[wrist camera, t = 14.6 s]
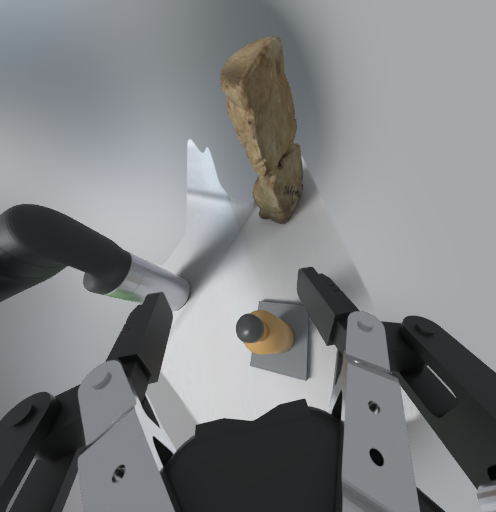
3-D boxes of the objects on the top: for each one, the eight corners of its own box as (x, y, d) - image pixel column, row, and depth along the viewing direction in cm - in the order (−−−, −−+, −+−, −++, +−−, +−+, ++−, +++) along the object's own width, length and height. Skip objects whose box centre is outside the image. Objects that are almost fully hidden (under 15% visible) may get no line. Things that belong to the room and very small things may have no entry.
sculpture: (279, 187, 52) (231, 42, 27) (310, 191, 46) (284, 16, 22) (259, 221, 49) (186, 93, 25) (289, 229, 44) (234, 78, 20)
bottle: (263, 349, 33) (222, 348, 21) (267, 318, 35) (232, 301, 23) (293, 356, 31) (267, 360, 18) (295, 322, 33) (274, 306, 21)
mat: (252, 365, 34) (250, 365, 33) (260, 302, 39) (259, 301, 38) (306, 379, 29) (306, 380, 29) (308, 306, 34) (308, 305, 33)
